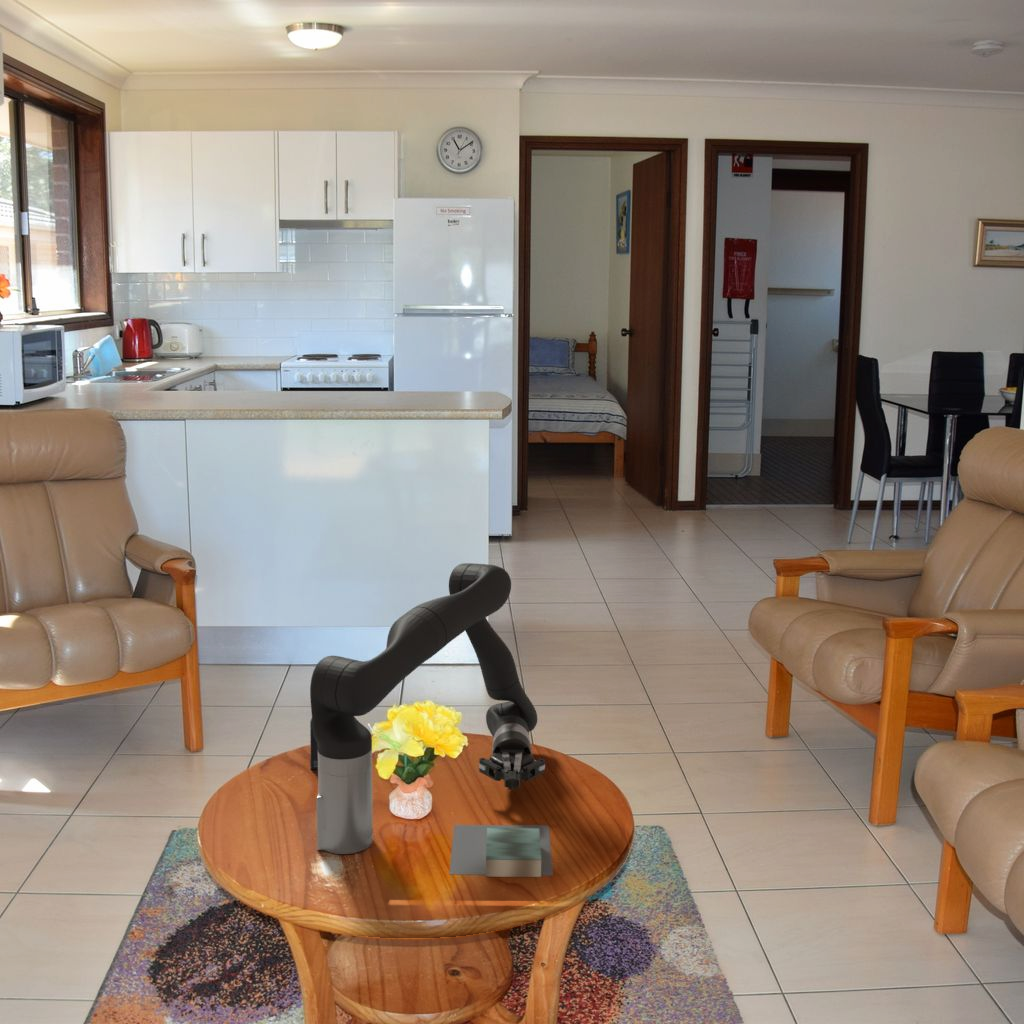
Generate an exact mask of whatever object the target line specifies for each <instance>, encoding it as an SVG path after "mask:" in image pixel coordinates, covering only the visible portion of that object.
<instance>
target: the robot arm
mask: <svg viewBox="0 0 1024 1024" xmlns="http://www.w3.org/2000/svg"><path fill="white" fill-rule="evenodd" d="M511 591H512V580H511V577H510V574H509V572H507V570H506V569H504V568H503V567H500V566H498V565H494V564H485V563H471V562H470V563H467V562H466V563H465V562H464V563H460V564H458V565H456V566H455V567H454V568H453V569H452V571H451V573H450V576H449V579H448V592H449V595H445V596H441V597H438V598H434V599H431V600H428V601H425V602H422V603H420V604H418V605H415V606H414V607H413V608H411V609H410V610H408V611H407V612H406V613H404V614H403V615H402V616H400V617H399V618H397V620H396V621H394V622H393V624H392V625H391V627H390V628H389V631H388V635H387V639H386V648H385V649H384V650H383V651H381V652H380V653H379V654H378V655H376V656H375V657H373V658H372V659H369V660H366V661H364V660H363V661H362V660H357V659H353V658H349V657H344V656H340V655H327V656H325V657H323V658H322V659H321V660H319V661H318V663H317V664H316V666H314V669H313V672H312V675H311V679H310V687H309V692H310V693H309V695H310V696H309V697H310V698H309V699H310V708H311V712H310V713H311V718H312V726H313V734H314V737H315V739H316V741H317V746H318V769H317V775H318V777H317V779H318V780H317V783H318V787H317V789H318V793H317V795H316V800H315V802H316V803H315V804H316V805H315V806H316V813H315V814H316V848H317V849H316V850H318V851H326V852H328V853H330V854H336V855H351V854H357V853H360V852H362V851H364V850H367V849H368V848H370V847H371V846H372V844H373V842H374V841H373V837H374V834H373V833H374V827H373V826H374V825H373V823H374V822H373V821H374V820H373V818H374V817H373V816H374V814H373V810H374V809H373V807H374V806H373V740H372V739H373V738H372V734H371V732H370V730H369V729H368V728H367V727H366V726H365V725H363V724H362V722H360V721H359V720H358V719H357V718H356V717H361V716H364V715H366V714H368V713H370V712H372V711H373V710H374V709H375V708H376V707H377V706H378V705H379V704H381V702H383V701H384V700H385V698H386V697H388V695H389V694H390V693H391V692H392V691H393V690H394V689H395V688H396V687H397V686H398V685H399V684H400V683H401V682H402V681H403V680H404V679H405V678H407V677H408V676H409V675H410V674H412V673H413V672H414V671H415V670H416V669H417V668H419V667H420V666H422V664H424V663H425V662H427V661H428V660H430V659H431V658H432V657H434V656H435V655H436V654H437V653H439V652H440V651H441V650H442V649H444V648H445V647H446V646H447V645H448V644H449V643H451V642H452V641H454V640H455V639H456V638H457V637H459V636H460V635H462V634H463V633H464V632H465V633H466V635H467V637H468V639H469V641H470V643H471V646H472V648H473V650H474V652H475V654H476V658H477V662H478V664H479V666H480V667H479V668H480V670H481V671H480V672H481V676H482V678H483V682H484V687H485V690H486V693H487V695H488V697H490V699H492V700H494V701H502V702H500V703H496V704H492V706H490V707H489V708H488V710H487V711H486V714H485V723H486V726H487V728H488V730H489V733H490V734H491V736H492V737H493V740H492V748H491V751H492V752H491V753H492V755H490V756H489V759H487V758H485V757H480V758H479V759H478V760H479V761H478V772H479V773H481V774H482V775H485V776H486V777H488V778H489V779H490V778H491V779H492V780H493V781H496V782H497V781H498V782H500V781H502V780H503V785H504V787H505V788H507V790H508V791H516V790H517V788H520V787H521V781H523V782H529V781H531V780H534V779H536V778H537V777H539V776H541V775H543V774H545V773H546V759H544V758H538V759H537V760H536V759H535V757H534V756H533V754H532V743H531V742H532V741H531V737H530V732H531V731H533V730H534V729H535V728H536V727H537V724H538V713H537V710H536V708H535V706H534V704H533V702H532V701H531V700H530V698H529V696H528V695H527V694H526V692H525V690H524V688H523V687H522V684H521V682H520V678H519V674H518V671H517V667H516V666H517V665H516V663H515V659H514V656H513V654H512V652H511V651H510V649H509V648H508V647H509V646H508V645H507V644H506V643H505V642H504V641H503V639H502V638H501V637H500V636H499V635H498V633H497V632H496V631H495V630H494V628H493V626H491V624H490V622H489V621H488V620H487V618H488V617H489V616H491V615H493V614H494V613H496V612H497V611H499V610H500V609H502V607H503V606H504V605H505V604H506V603H507V601H508V599H509V597H510V595H511ZM504 701H505V702H504Z"/></svg>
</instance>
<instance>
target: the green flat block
mask: <svg viewBox="0 0 1024 1024" xmlns="http://www.w3.org/2000/svg"><path fill="white" fill-rule="evenodd" d="M485 877H488V878H489V877H492V878H493V877H496V878H498V877H501V878H503V877H504V878H505V877H506V878H509V877H511V878H528V877H529V878H541V877H542V875H541V848H540V832H539V828H487V845H486V875H485Z"/></svg>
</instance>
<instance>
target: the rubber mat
mask: <svg viewBox="0 0 1024 1024" xmlns="http://www.w3.org/2000/svg"><path fill="white" fill-rule="evenodd" d="M487 828H539V832H540V848H541V877H542V876H546V877H547V876H548V877H549V876H550V877H551V876H554V871H553V859H552V849H551V847H552V846H551V838H550V837H551V836H550V835H551V834H550V825H538V824H537V825H531V824H530V825H527V824H526V825H524V824H523V825H518V824H516V825H515V824H514V825H513V824H511V825H510V824H508V825H505V824H504V825H503V824H453V830H452V831H453V832H452V844H451V854H450V861H449V862H450V864H449V873H448V874H449V875H451V876H452V875H453V876H455V875H457V876H458V875H459V876H486V845H487Z"/></svg>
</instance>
